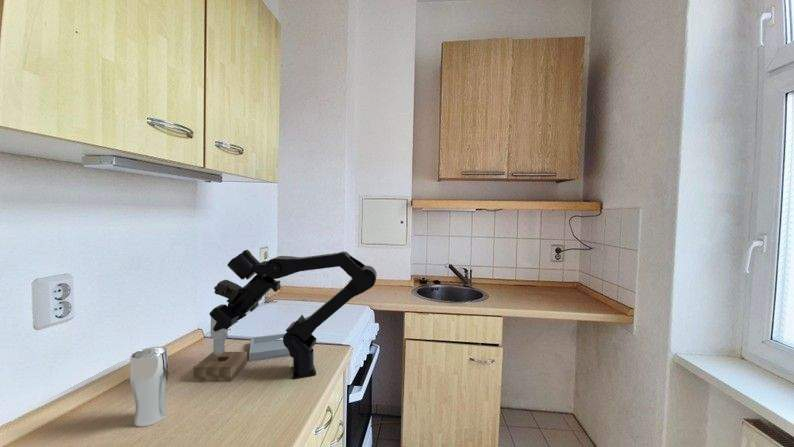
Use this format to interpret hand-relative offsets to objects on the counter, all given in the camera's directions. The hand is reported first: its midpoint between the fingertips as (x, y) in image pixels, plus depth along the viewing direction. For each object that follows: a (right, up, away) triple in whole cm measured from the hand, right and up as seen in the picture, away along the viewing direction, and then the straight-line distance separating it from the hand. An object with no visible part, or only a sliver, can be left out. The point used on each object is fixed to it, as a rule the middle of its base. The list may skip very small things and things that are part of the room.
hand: (215, 329), depth 95 cm
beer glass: (-3, -14, -21) cm, 25 cm away
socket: (+1, -13, 0) cm, 13 cm away
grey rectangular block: (+1, -7, 0) cm, 7 cm away
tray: (+10, -12, +17) cm, 23 cm away
